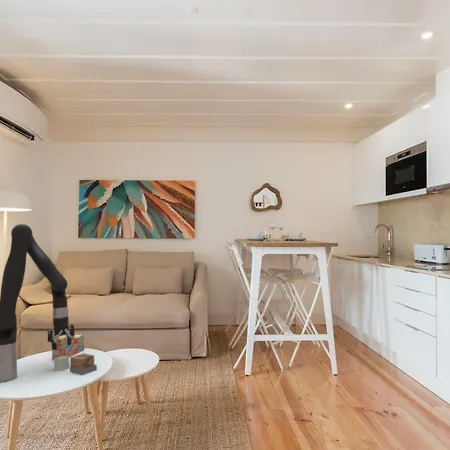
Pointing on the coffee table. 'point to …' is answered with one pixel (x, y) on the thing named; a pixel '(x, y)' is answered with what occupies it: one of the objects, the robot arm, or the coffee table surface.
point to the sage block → (61, 363)
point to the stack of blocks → (66, 350)
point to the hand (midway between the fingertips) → (61, 347)
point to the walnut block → (82, 361)
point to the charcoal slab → (83, 370)
